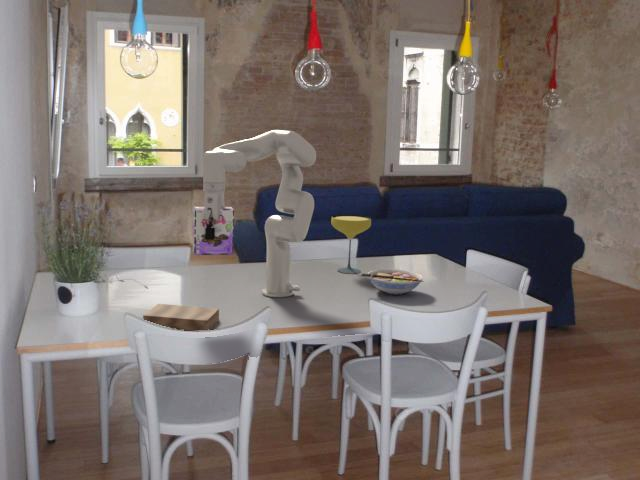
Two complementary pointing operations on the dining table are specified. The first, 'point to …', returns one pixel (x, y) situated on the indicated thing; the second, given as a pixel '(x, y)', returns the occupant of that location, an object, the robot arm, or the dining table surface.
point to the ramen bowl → (394, 280)
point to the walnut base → (183, 316)
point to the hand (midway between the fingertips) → (213, 236)
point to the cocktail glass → (350, 231)
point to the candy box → (222, 233)
